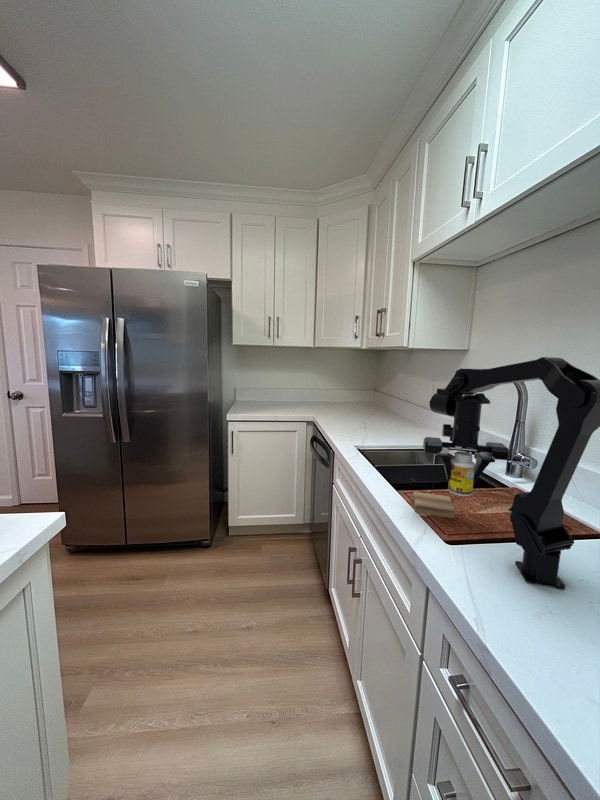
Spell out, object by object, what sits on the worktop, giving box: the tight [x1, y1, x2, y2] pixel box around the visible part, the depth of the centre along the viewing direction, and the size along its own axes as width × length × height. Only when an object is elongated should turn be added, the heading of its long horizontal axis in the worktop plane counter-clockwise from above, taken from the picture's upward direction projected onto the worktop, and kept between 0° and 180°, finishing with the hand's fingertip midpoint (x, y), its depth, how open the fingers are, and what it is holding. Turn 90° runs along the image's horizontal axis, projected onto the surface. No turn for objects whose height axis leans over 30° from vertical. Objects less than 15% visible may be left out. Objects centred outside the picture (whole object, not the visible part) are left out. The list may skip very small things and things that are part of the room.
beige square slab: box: [412, 491, 456, 519], centre depth 95 cm, size 10×10×2 cm
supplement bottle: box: [447, 451, 476, 497], centre depth 84 cm, size 6×6×10 cm
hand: (461, 481), depth 84 cm, fingers closed on supplement bottle, 6 cm apart
